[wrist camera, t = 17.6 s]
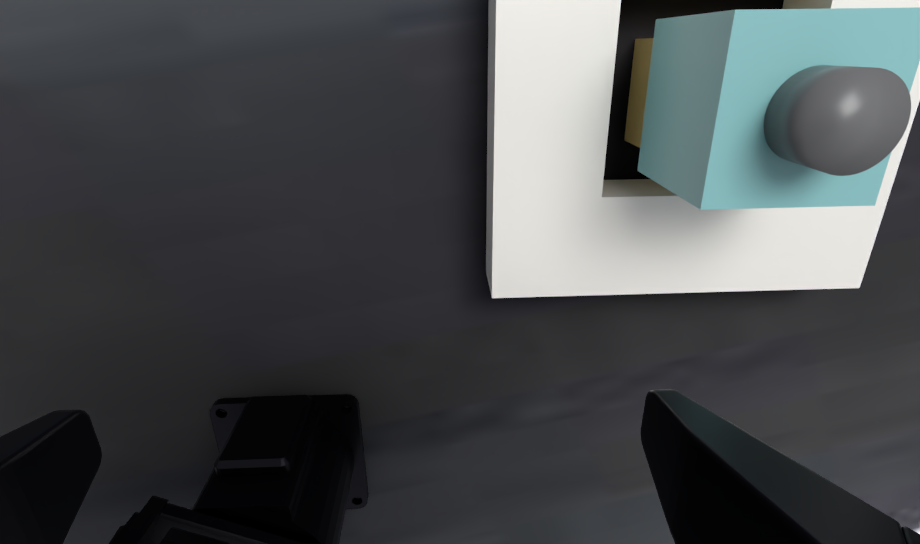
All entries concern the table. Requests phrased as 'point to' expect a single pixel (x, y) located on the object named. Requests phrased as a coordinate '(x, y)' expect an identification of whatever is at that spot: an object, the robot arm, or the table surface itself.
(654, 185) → the socket plate
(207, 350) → the table surface
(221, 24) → the table surface
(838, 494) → the robot arm
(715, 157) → the plug
